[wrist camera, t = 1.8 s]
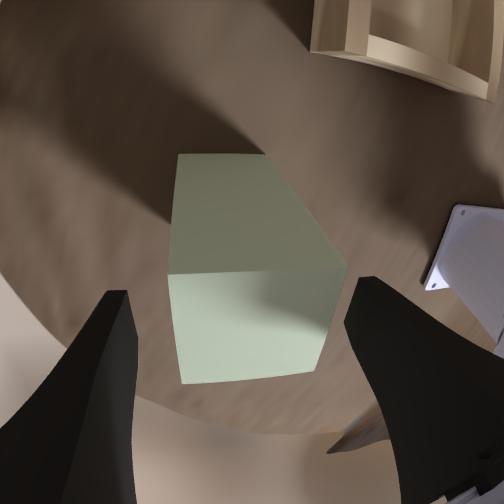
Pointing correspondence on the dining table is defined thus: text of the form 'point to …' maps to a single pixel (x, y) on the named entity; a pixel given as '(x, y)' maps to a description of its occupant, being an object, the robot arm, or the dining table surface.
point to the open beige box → (418, 39)
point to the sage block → (247, 271)
